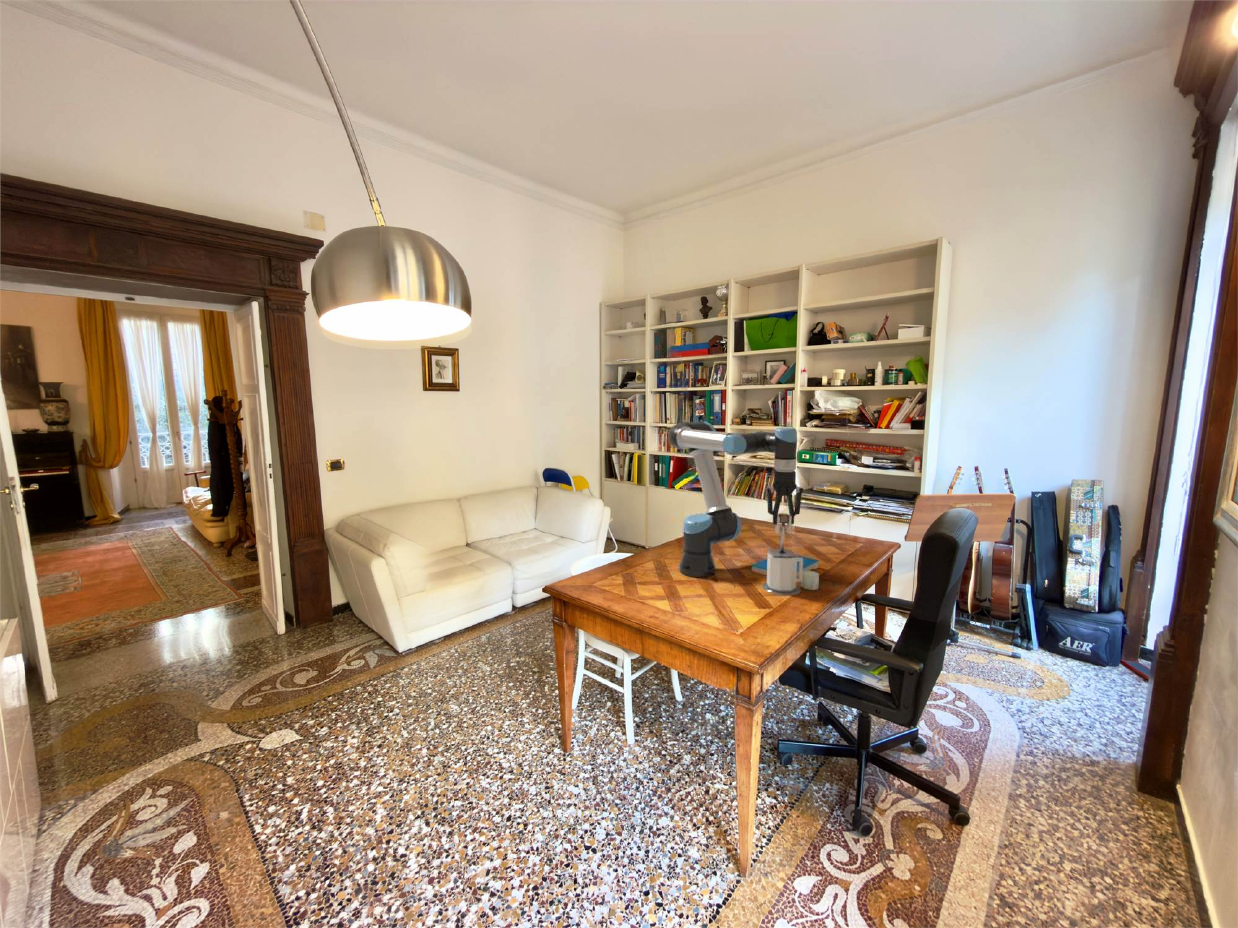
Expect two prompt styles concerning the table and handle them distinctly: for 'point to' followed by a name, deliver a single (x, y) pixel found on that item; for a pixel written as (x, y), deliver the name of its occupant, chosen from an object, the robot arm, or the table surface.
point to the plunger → (783, 528)
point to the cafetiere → (783, 570)
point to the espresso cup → (810, 580)
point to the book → (807, 565)
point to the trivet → (781, 593)
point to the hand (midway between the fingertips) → (782, 532)
